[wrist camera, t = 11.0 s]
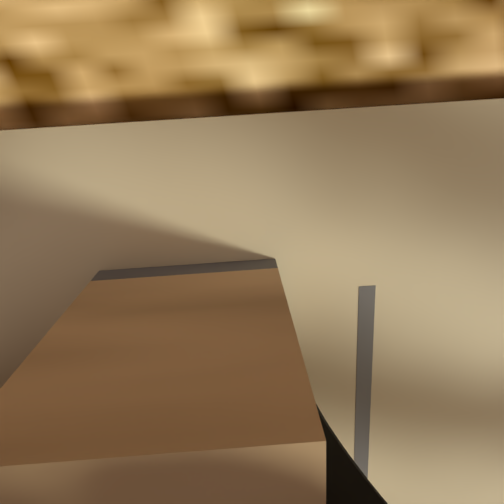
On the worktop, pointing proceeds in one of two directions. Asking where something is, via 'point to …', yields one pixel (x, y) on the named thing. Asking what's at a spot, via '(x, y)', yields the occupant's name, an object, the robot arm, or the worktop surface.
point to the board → (300, 259)
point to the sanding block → (166, 395)
